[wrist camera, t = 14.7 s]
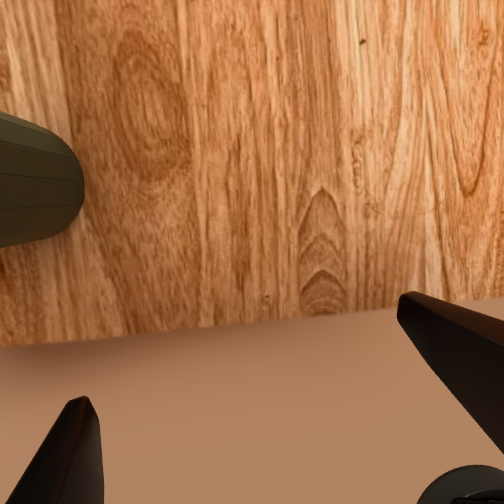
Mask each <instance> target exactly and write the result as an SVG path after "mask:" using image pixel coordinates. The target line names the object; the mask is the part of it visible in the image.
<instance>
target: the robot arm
mask: <svg viewBox="0 0 504 504" xmlns="http://www.w3.org/2000/svg"><path fill="white" fill-rule="evenodd" d="M397 319H398V322H399V324H400V325H401V327H402V328H403V329H404V331H405V332H406V334H407V335H408V337H409V338H410V340H411V341H412V343H413V344H414V345H415V347H416V348H417V350H418V351H419V353H420V354H421V356H422V357H423V358H424V359H425V361H426V362H427V364H428V365H429V366H430V368H431V369H432V370H433V371H434V372H435V374H436V375H437V376H438V377H439V378H440V380H441V381H442V382H443V383H444V384H445V385H446V386H447V388H448V389H449V390H450V391H451V393H452V394H453V395H454V396H455V397H456V398H457V400H458V401H459V402H460V403H461V404H462V406H463V407H464V408H465V409H466V410H467V412H468V413H469V414H470V415H471V416H472V418H473V419H474V420H475V421H476V422H477V423H478V425H479V426H480V427H481V428H482V429H483V431H484V432H485V433H486V434H487V435H488V436H489V438H490V439H491V440H492V441H493V442H494V443H495V445H496V446H497V447H498V448H499V449H500V450H501V452H502V453H503V454H504V321H503V320H500V319H497V318H494V317H491V316H488V315H485V314H482V313H479V312H476V311H473V310H470V309H466V308H464V307H461V306H458V305H455V304H452V303H449V302H446V301H443V300H440V299H437V298H434V297H431V296H428V295H425V294H422V293H419V292H415V291H410V292H407V293H404V294H402V295H401V296H400V297H399V303H398V309H397ZM5 504H104V475H103V464H102V449H101V436H100V424H99V419H98V416H97V414H96V412H95V410H94V408H93V406H92V404H91V402H90V400H89V398H88V397H87V396H81V397H79V398H75V399H72V400H70V401H69V402H68V403H67V404H66V405H65V407H64V408H63V410H62V412H61V413H60V415H59V417H58V418H57V420H56V421H55V423H54V425H53V426H52V428H51V430H50V431H49V433H48V434H47V436H46V438H45V440H44V441H43V443H42V444H41V446H40V448H39V449H38V451H37V453H36V454H35V456H34V457H33V459H32V461H31V462H30V464H29V466H28V467H27V469H26V470H25V472H24V474H23V475H22V477H21V479H20V480H19V482H18V483H17V485H16V487H15V488H14V490H13V492H12V493H11V495H10V497H9V498H8V500H7V501H6V503H5ZM450 504H504V500H492V499H479V498H466V497H456V498H454V499H453V500H452V501H451V503H450Z"/></svg>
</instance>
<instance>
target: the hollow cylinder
mask: <svg viewBox="0 0 504 504" xmlns="http://www.w3.org/2000/svg"><path fill="white" fill-rule="evenodd" d="M83 195H84V178H83V174H82V170H81V167H80V164H79V162H78V160H77V158H76V156H75V155H74V153H73V152H72V150H71V149H70V148H69V146H68V145H67V144H66V143H65V142H64V141H63V140H62V139H61V138H59V137H58V136H57V135H55V134H54V133H52V132H50V131H49V130H47V129H45V128H42V127H40V126H38V125H37V124H34V123H31V122H29V121H26V120H23V119H20V118H17V117H15V116H12V115H9V114H6V113H4V112H1V111H0V248H4V247H9V246H13V245H18V244H22V243H27V242H31V241H36V240H41V239H45V238H48V237H51V236H53V235H55V234H57V233H59V232H61V231H62V230H64V229H65V228H66V227H67V226H68V225H69V224H70V223H71V222H72V221H73V220H74V218H75V217H76V215H77V213H78V211H79V209H80V207H81V204H82V201H83Z"/></svg>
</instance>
